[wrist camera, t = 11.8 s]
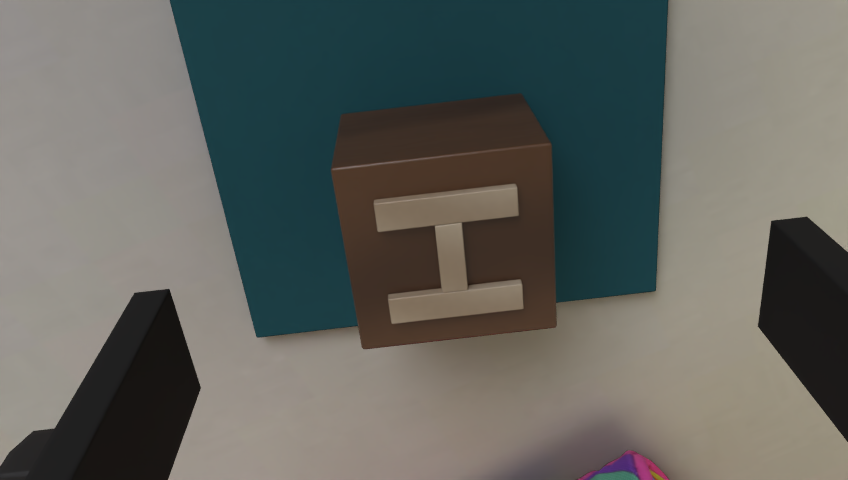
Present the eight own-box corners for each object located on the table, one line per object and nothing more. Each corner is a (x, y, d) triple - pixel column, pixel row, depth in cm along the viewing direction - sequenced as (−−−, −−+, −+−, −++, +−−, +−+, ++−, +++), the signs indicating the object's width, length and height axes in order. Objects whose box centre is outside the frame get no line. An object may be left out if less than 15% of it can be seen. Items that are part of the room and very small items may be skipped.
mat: (75, -389, 17) (67, -396, 16) (680, -465, 17) (689, -474, 16) (258, 330, 26) (256, 338, 26) (651, 284, 26) (656, 291, 25)
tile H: (340, 113, 22) (329, 173, 18) (522, 92, 22) (555, 146, 18) (366, 271, 25) (361, 357, 20) (529, 252, 25) (559, 334, 20)
